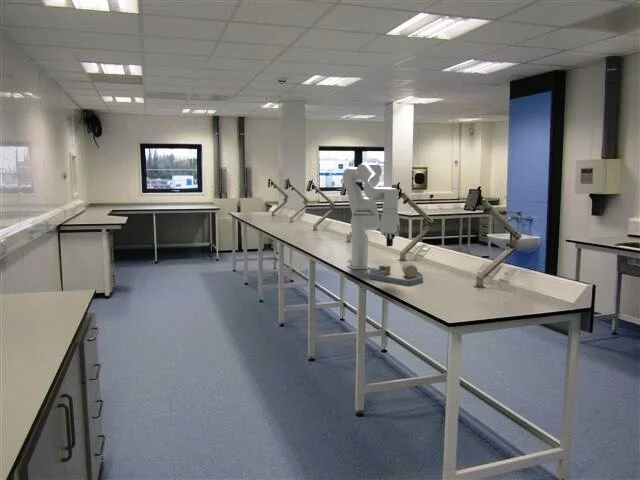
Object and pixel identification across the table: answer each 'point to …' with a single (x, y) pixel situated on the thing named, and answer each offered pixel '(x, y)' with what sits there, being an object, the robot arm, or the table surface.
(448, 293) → the table surface
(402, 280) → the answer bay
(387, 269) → the walnut block
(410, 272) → the ceramic mug
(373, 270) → the slate block
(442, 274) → the table surface
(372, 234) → the table surface
